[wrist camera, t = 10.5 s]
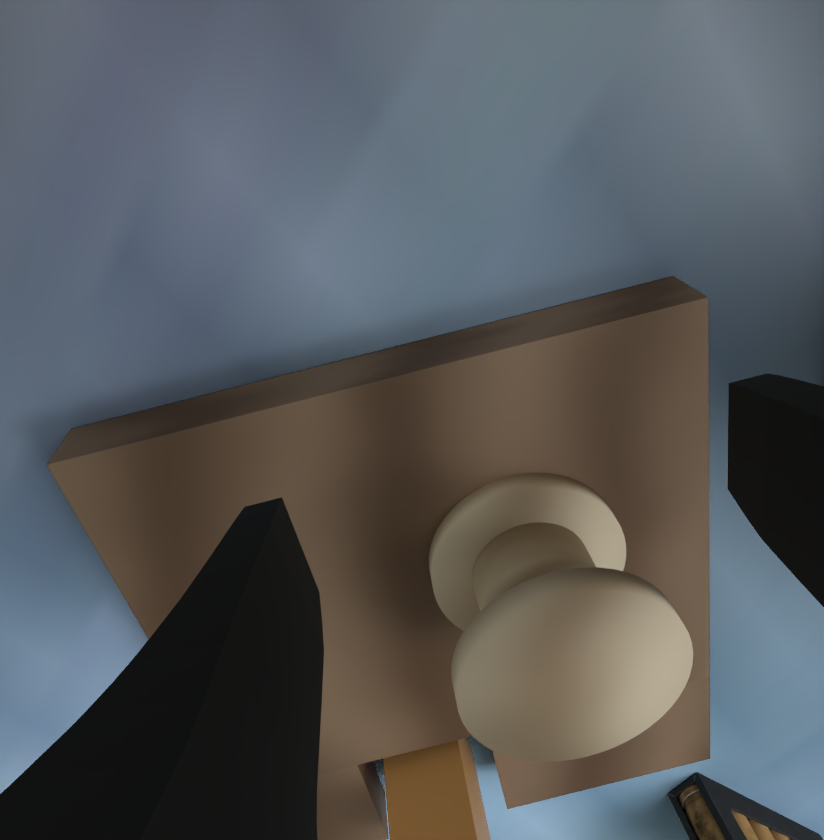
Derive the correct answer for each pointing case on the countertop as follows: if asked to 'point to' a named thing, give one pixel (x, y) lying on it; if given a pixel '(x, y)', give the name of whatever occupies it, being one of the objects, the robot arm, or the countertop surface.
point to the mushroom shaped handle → (552, 622)
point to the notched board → (426, 510)
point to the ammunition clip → (730, 814)
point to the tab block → (435, 794)
